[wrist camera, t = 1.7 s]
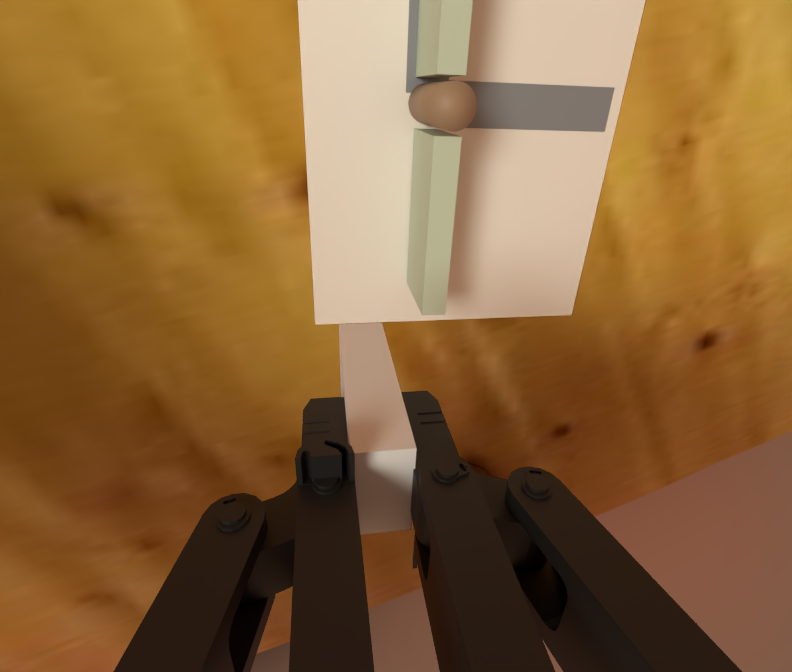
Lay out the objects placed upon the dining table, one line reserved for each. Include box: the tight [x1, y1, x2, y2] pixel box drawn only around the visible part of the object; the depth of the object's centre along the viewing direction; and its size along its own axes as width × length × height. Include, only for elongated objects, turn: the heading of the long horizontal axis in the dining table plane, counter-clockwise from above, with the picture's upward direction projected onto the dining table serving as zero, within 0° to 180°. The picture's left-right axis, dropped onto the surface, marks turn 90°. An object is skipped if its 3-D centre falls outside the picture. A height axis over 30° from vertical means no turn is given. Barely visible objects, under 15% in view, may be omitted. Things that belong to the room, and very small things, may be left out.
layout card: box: [298, 0, 645, 324], centre depth 31 cm, size 22×32×1 cm
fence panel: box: [407, 128, 462, 315], centre depth 31 cm, size 2×11×6 cm, turn 178°
